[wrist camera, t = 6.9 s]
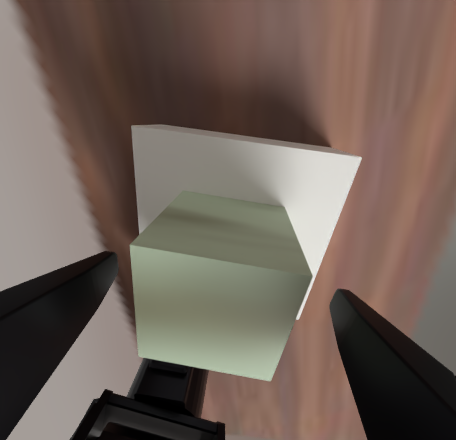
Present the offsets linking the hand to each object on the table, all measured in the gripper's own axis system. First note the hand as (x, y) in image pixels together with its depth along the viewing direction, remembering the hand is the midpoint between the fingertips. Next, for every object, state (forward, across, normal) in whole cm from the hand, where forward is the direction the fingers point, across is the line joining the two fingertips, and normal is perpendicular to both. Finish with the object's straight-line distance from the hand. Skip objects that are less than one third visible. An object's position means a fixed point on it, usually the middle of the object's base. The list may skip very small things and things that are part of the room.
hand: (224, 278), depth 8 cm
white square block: (+7, 0, 0) cm, 7 cm away
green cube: (+3, 0, 0) cm, 3 cm away
